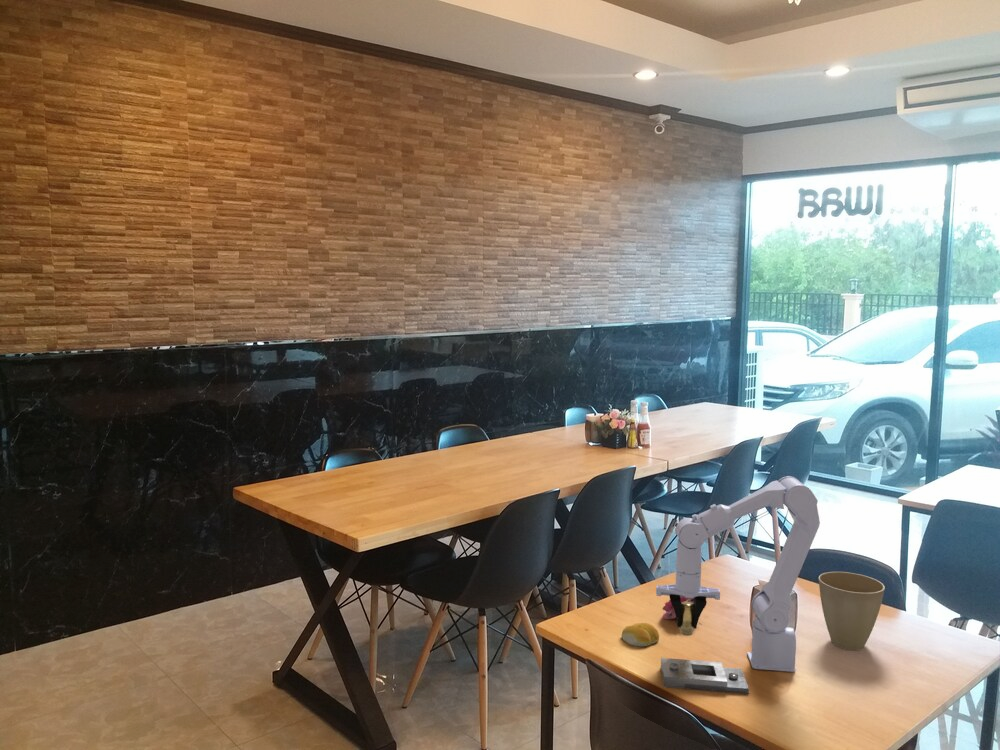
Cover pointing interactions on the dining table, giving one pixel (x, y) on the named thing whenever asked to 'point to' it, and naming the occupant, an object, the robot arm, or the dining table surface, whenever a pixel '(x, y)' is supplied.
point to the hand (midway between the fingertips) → (686, 626)
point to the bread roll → (640, 634)
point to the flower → (670, 610)
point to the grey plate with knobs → (702, 676)
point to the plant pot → (850, 607)
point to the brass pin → (687, 618)
